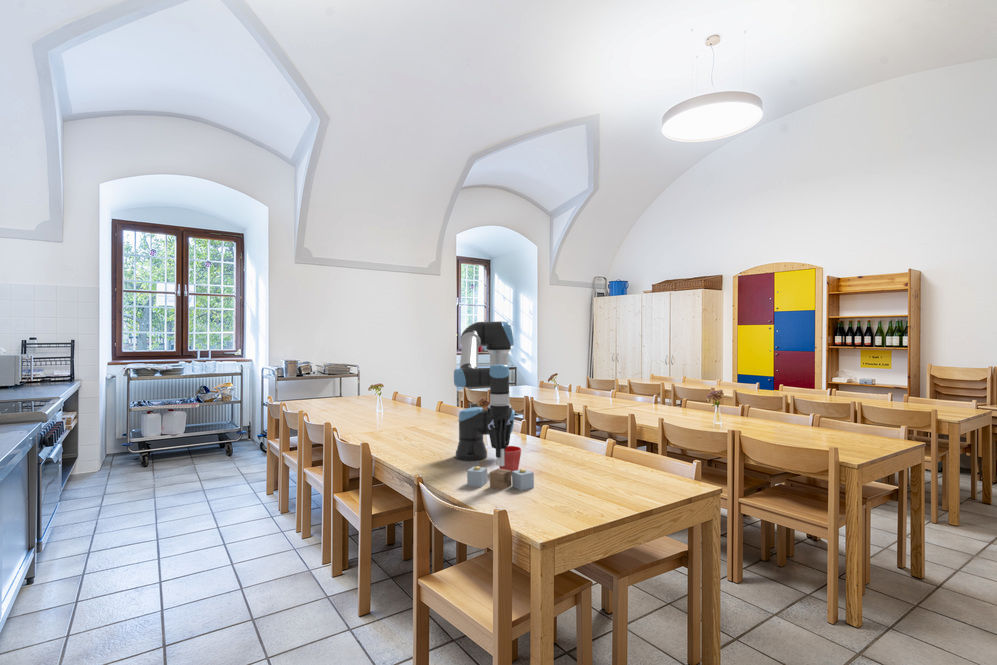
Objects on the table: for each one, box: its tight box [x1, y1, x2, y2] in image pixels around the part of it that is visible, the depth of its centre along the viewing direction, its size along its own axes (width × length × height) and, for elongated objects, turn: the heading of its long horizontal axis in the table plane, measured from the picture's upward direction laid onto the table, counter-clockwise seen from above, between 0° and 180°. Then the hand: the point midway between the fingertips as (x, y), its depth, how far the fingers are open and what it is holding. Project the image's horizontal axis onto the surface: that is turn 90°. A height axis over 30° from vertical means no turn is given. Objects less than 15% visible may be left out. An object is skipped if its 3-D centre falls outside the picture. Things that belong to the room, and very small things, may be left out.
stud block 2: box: [511, 468, 535, 492], centre depth 193 cm, size 6×6×7 cm
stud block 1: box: [466, 465, 488, 488], centre depth 198 cm, size 6×6×7 cm
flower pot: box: [499, 445, 522, 474], centre depth 216 cm, size 11×11×10 cm
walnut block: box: [489, 468, 512, 491], centre depth 194 cm, size 6×6×6 cm
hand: (500, 465), depth 194 cm, fingers closed
